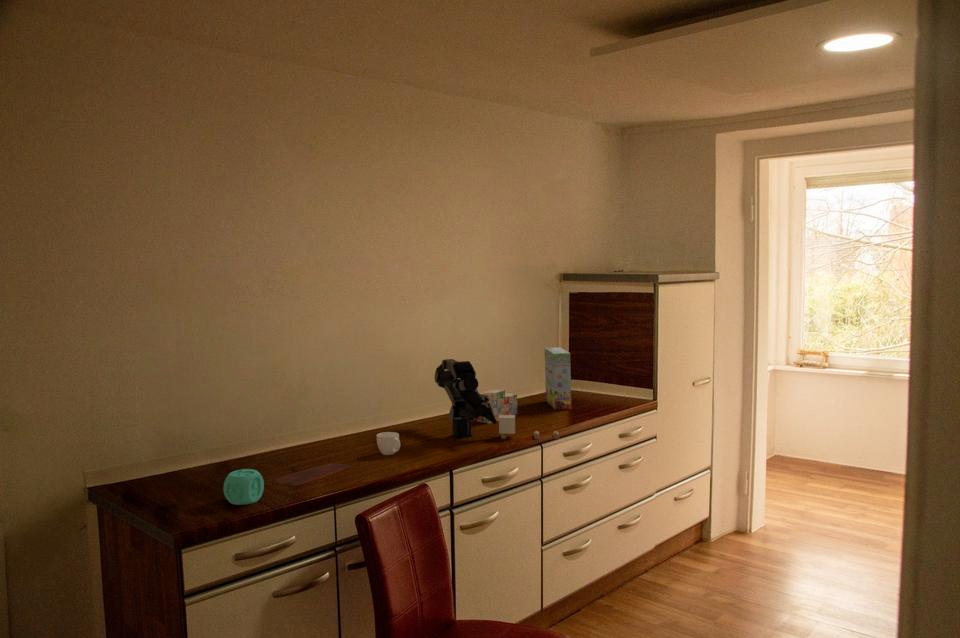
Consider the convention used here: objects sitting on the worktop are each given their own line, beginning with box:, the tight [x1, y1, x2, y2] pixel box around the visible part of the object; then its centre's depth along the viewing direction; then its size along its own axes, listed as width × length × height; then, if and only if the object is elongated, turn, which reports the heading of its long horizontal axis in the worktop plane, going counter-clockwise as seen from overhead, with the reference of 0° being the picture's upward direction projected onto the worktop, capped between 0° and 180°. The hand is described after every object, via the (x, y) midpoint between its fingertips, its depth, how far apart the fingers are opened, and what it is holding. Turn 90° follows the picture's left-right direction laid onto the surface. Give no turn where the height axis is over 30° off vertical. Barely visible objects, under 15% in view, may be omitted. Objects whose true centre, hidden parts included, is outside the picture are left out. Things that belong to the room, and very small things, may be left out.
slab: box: [498, 415, 516, 435], centre depth 282 cm, size 6×5×6 cm
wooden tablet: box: [273, 462, 352, 488], centre depth 235 cm, size 27×10×2 cm, turn 147°
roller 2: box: [552, 430, 560, 440], centre depth 281 cm, size 6×2×2 cm
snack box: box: [543, 346, 572, 411], centre depth 343 cm, size 22×9×26 cm, turn 6°
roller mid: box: [533, 430, 540, 440], centre depth 282 cm, size 6×2×2 cm
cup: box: [376, 431, 401, 456], centre depth 259 cm, size 8×10×7 cm
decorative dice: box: [223, 468, 265, 506], centre depth 210 cm, size 8×8×8 cm
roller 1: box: [500, 434, 507, 440], centre depth 282 cm, size 6×2×2 cm
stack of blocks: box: [476, 388, 518, 424], centre depth 316 cm, size 21×6×12 cm, turn 143°
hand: (495, 423), depth 281 cm, fingers closed
